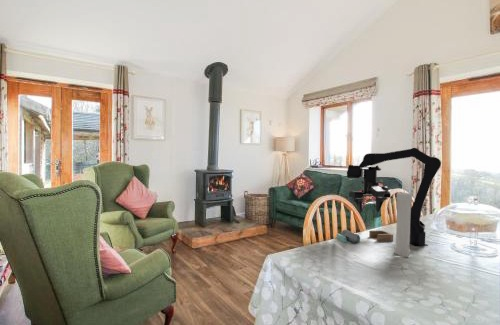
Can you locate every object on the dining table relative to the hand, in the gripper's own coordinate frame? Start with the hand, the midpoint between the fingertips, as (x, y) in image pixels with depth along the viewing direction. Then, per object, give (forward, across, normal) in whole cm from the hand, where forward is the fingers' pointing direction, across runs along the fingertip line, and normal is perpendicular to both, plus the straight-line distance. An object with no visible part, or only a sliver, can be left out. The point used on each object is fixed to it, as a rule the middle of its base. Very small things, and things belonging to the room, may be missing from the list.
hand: (369, 212), depth 137 cm
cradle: (+12, -14, -5) cm, 19 cm away
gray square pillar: (+12, -2, -24) cm, 27 cm away
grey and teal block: (+11, -14, -6) cm, 19 cm away
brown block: (+12, +2, -6) cm, 13 cm away
